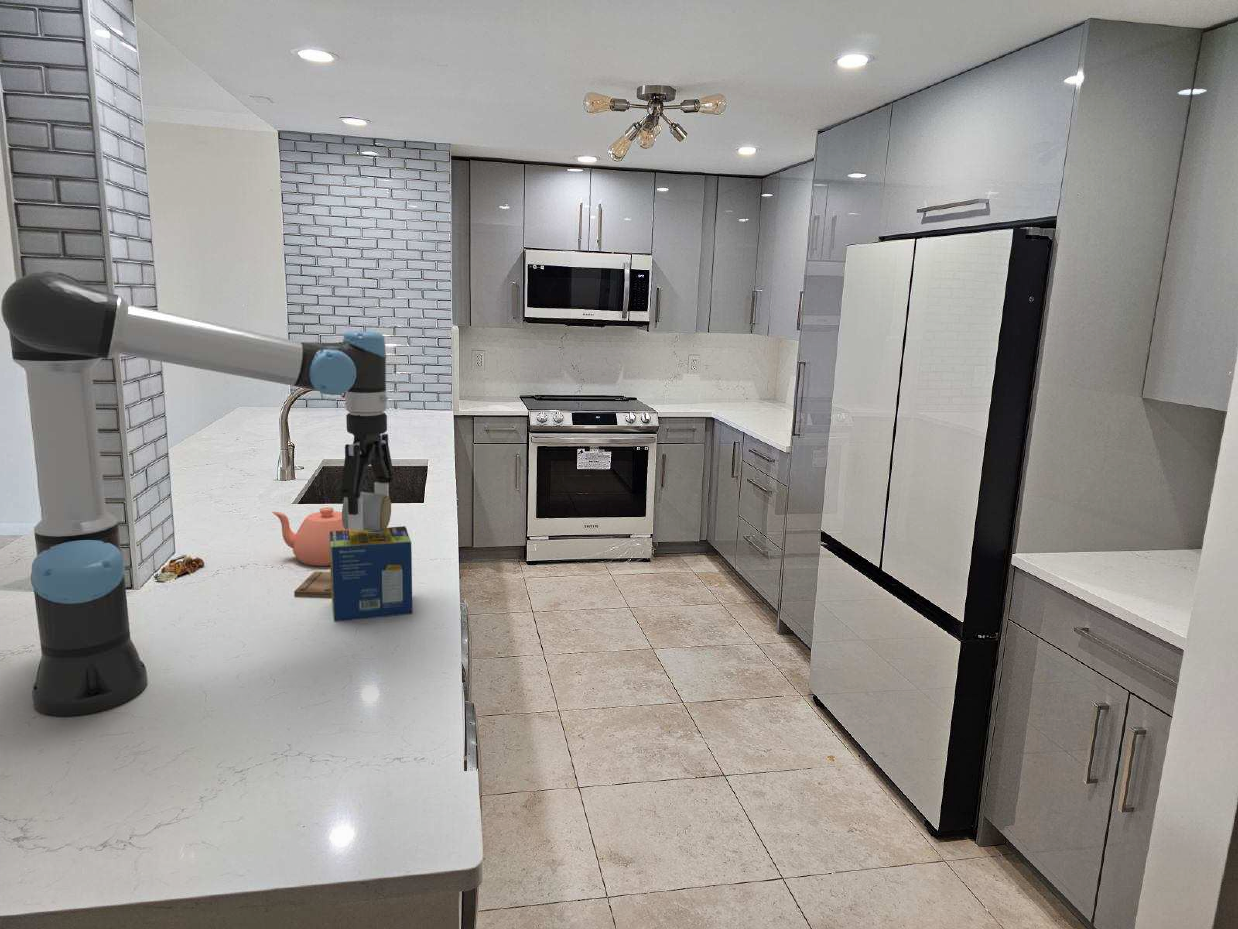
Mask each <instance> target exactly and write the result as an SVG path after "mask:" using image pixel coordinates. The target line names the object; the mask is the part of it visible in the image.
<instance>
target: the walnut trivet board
mask: <svg viewBox="0 0 1238 929" xmlns="http://www.w3.org/2000/svg"><path fill="white" fill-rule="evenodd" d="M293 593H294V594H293V596H294V598H313V599H314V598H316V599H317V598H318V599H319V598H320V599H321V598H322V599H332V592H331V571H313V572H312V573H311V574H310V575H309V576H308V577H307V578H306V579H305V580H304V581H303V582H302V583H301V584H300V585H299V586H298V587H297V588H296V589H295V590H294V591H293Z"/></svg>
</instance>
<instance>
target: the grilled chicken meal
mask: <svg viewBox="0 0 1238 929" xmlns="http://www.w3.org/2000/svg"><path fill="white" fill-rule="evenodd" d="M200 565H202V566H204V565H205V562H204V560H203V559H202V558H200V557H195V558H193V557H192V556H190V555H186V554H182V555H180V556H178V557H176V558H171V559H170V560H169V561H168V564H167V565H165V566H163V567H162V568H161V572H160V573H156V574H154V575H153V579H154V578H155V579H154V581H155V580H157V581H158V582H164V583H165V582H166V581H168V580H169V581H170V580H172V579H174V578H176V579H177V577H178V576H180V575H182V574H184V573H187V572H188V575H190V574H191V573H193V572H195V573H197V572H198V571H199V566H200ZM197 570H198V571H197ZM196 571H197V572H196ZM193 574H194V573H193ZM158 575H159V578H158ZM169 581H168V582H169ZM170 582H171V581H170ZM166 583H167V582H166Z"/></svg>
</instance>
